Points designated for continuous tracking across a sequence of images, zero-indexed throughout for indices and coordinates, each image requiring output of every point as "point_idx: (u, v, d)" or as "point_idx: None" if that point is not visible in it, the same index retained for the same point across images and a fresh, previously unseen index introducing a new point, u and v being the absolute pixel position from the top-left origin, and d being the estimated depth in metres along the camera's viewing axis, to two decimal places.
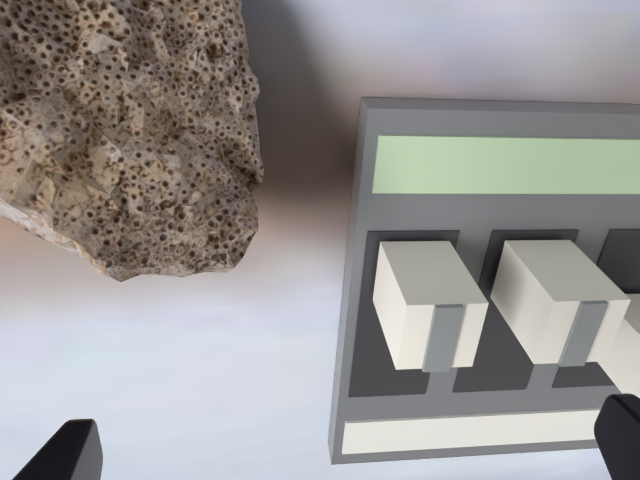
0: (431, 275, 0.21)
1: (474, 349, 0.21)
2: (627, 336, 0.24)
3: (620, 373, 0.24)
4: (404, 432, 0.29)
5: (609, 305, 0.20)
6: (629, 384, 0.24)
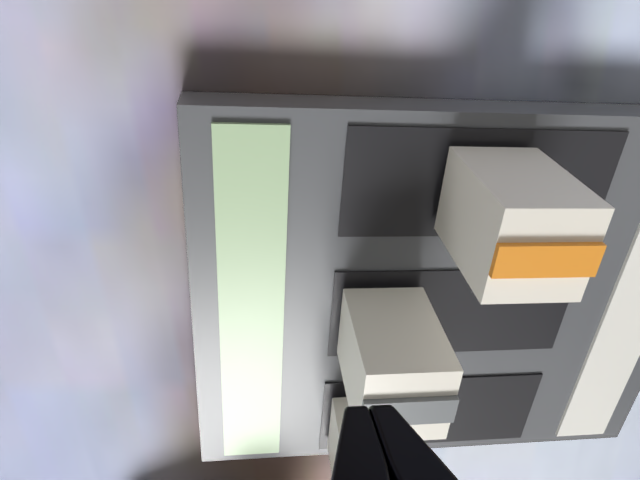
0: None
1: None
2: None
3: None
4: (596, 385, 0.25)
5: (371, 393, 0.17)
6: None
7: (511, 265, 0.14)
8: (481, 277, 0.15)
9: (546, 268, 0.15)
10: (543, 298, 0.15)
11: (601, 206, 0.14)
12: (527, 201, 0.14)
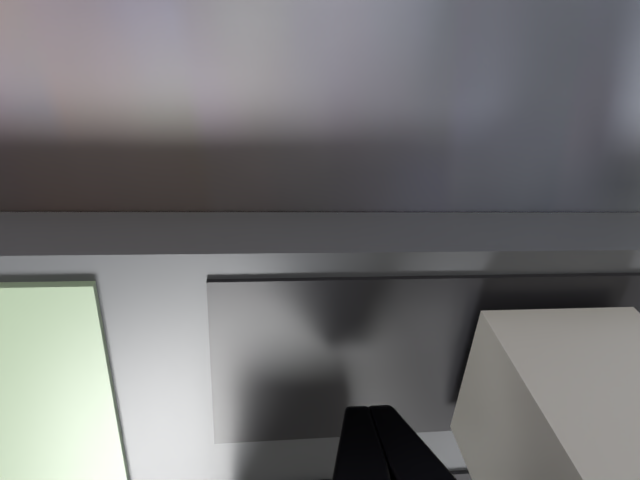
0: None
1: None
2: None
3: None
4: None
5: None
6: None
7: None
8: None
9: None
10: None
11: None
12: None
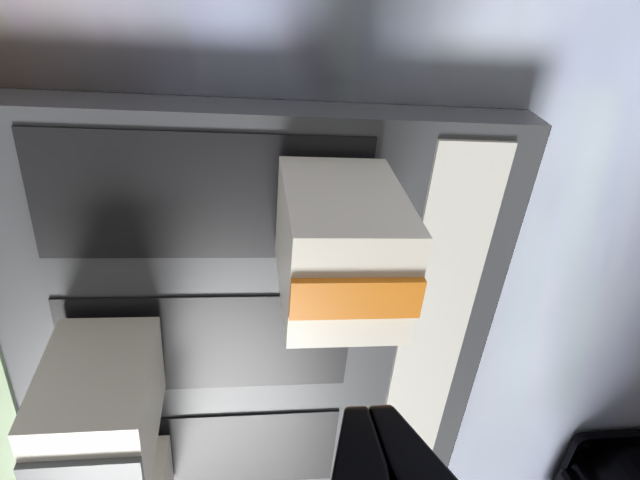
0: None
1: None
2: None
3: None
4: None
5: (25, 456, 0.14)
6: None
7: (310, 304, 0.12)
8: (286, 316, 0.13)
9: (356, 308, 0.12)
10: (363, 341, 0.13)
11: (417, 235, 0.12)
12: (328, 228, 0.12)
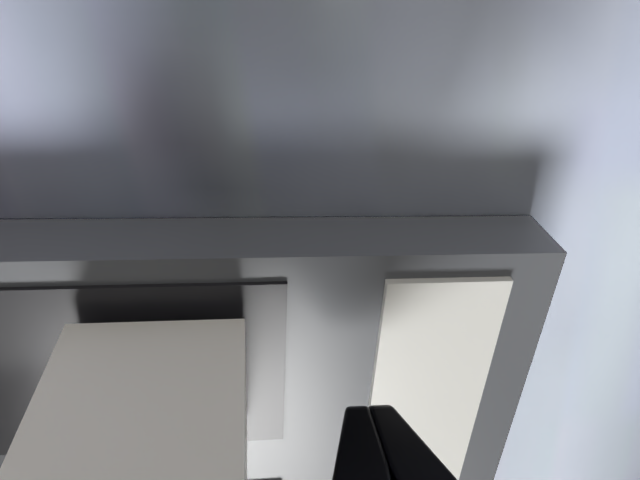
0: None
1: None
2: None
3: None
4: None
5: None
6: None
7: None
8: None
9: None
10: None
11: None
12: None
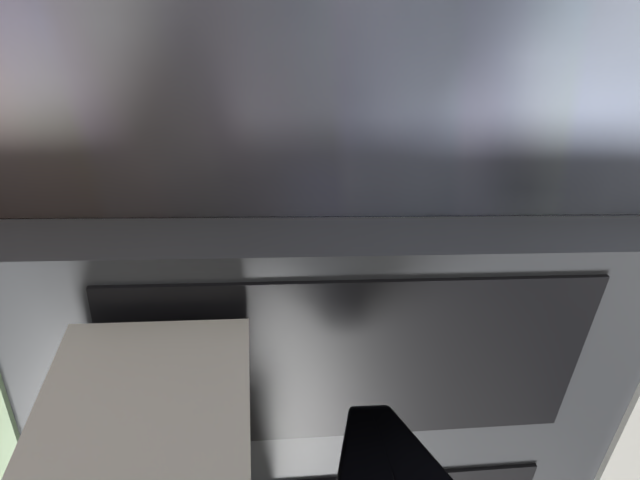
0: None
1: None
2: None
3: None
4: None
5: None
6: None
7: None
8: None
9: None
10: None
11: None
12: None
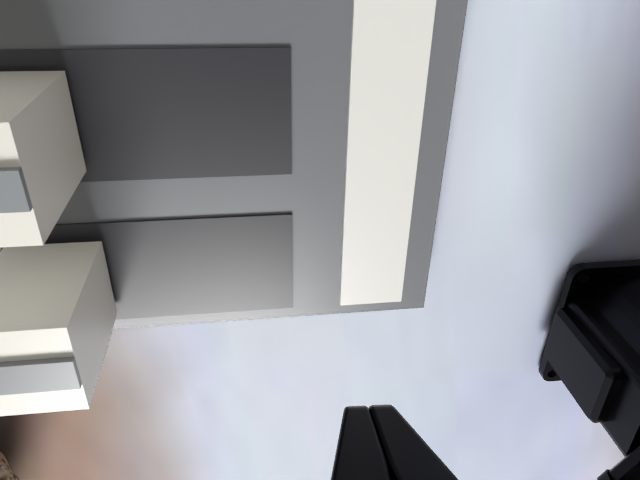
0: None
1: (32, 332, 0.14)
2: None
3: None
4: (369, 230, 0.19)
5: None
6: None
7: None
8: None
9: None
10: None
11: None
12: None
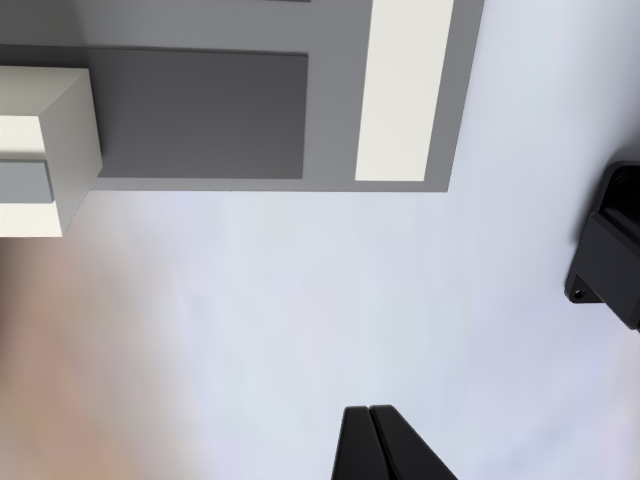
0: None
1: None
2: None
3: None
4: (393, 85, 0.17)
5: None
6: None
7: None
8: None
9: None
10: None
11: None
12: None
